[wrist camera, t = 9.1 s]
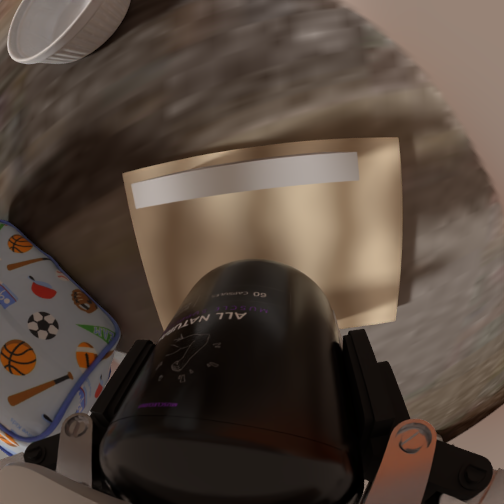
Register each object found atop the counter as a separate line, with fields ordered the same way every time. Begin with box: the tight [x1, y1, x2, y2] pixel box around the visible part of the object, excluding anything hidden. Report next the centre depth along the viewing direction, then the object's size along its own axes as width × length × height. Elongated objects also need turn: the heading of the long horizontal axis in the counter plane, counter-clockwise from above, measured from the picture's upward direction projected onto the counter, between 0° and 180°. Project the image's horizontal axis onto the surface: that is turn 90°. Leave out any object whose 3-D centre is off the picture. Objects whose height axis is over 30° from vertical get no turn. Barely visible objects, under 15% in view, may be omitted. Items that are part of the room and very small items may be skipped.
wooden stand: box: [122, 137, 403, 348], centre depth 19 cm, size 22×16×11 cm
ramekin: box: [7, 0, 131, 64], centre depth 14 cm, size 13×13×7 cm
